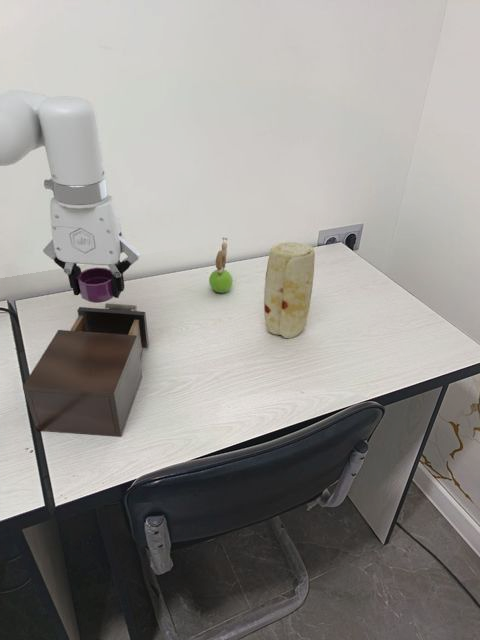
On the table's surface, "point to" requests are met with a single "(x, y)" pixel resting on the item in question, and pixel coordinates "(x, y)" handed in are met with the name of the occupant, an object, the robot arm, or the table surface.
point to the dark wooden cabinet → (85, 383)
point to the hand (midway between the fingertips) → (98, 291)
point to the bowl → (95, 284)
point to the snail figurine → (221, 272)
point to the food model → (288, 288)
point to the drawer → (114, 321)
